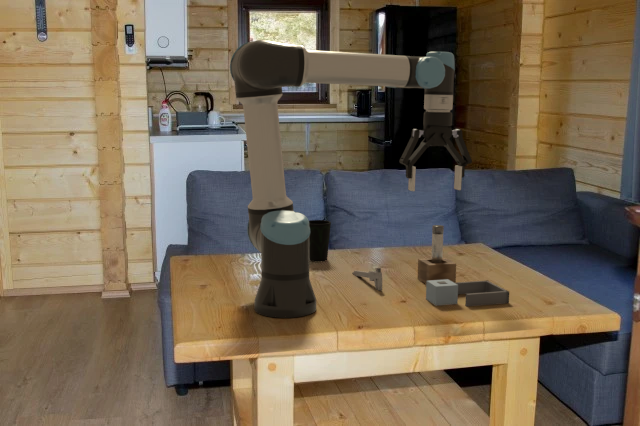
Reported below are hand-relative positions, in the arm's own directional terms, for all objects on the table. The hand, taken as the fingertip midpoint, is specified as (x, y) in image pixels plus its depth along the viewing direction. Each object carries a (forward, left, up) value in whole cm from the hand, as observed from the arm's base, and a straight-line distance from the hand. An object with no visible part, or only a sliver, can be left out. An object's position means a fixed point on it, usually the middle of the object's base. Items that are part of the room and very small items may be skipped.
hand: (434, 190), depth 208 cm
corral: (+5, -17, -26) cm, 31 cm away
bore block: (+2, +2, -26) cm, 27 cm away
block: (-5, -17, -26) cm, 32 cm away
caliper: (-17, +7, -27) cm, 32 cm away
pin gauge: (+2, +2, -25) cm, 26 cm away
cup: (-23, +36, -26) cm, 50 cm away
